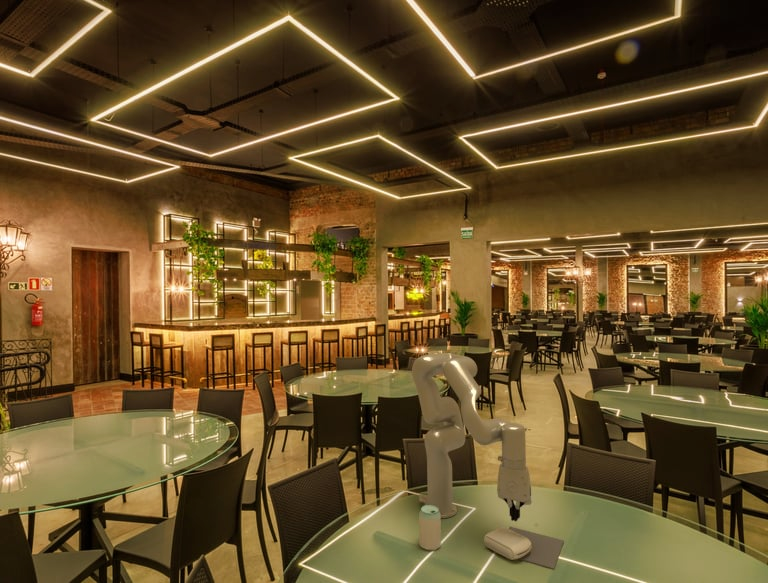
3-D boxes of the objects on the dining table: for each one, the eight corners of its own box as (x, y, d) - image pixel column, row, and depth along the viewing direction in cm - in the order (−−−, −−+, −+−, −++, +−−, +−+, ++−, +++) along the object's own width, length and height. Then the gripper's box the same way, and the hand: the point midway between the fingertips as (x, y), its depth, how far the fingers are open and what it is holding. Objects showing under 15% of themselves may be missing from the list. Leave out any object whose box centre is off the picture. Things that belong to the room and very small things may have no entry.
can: (442, 542, 145) (442, 505, 146) (438, 553, 139) (438, 515, 139) (422, 538, 148) (422, 502, 148) (417, 549, 141) (416, 512, 141)
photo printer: (503, 524, 148) (535, 539, 138) (503, 536, 148) (535, 553, 138) (483, 533, 142) (515, 550, 132) (483, 547, 141) (515, 565, 131)
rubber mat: (494, 552, 139) (494, 551, 139) (509, 527, 154) (509, 526, 154) (554, 569, 130) (554, 568, 130) (563, 541, 145) (563, 540, 145)
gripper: (488, 462, 143) (488, 518, 142) (534, 470, 135) (536, 530, 135) (494, 455, 150) (495, 509, 149) (539, 463, 142) (541, 520, 141)
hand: (514, 519), depth 142 cm, fingers closed
